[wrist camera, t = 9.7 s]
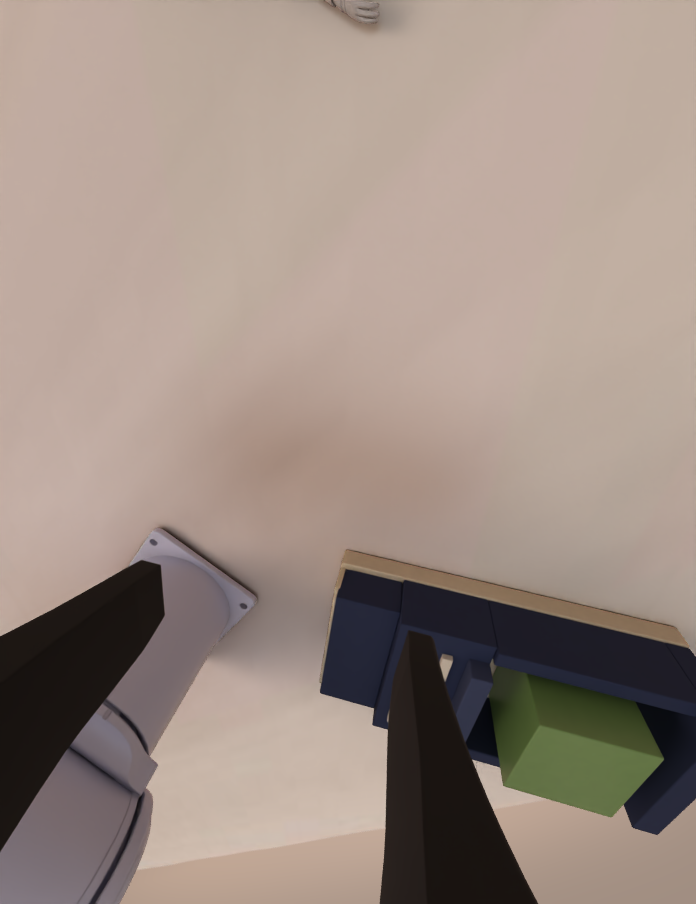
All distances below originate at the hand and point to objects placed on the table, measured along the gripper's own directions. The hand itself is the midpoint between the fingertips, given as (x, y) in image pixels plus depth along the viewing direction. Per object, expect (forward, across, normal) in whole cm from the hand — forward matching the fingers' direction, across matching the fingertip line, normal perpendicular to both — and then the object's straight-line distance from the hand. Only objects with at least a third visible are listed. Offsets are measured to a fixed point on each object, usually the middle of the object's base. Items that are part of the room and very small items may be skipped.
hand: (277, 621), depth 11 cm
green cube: (+9, -13, +9) cm, 18 cm away
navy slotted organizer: (+10, -10, +9) cm, 17 cm away
